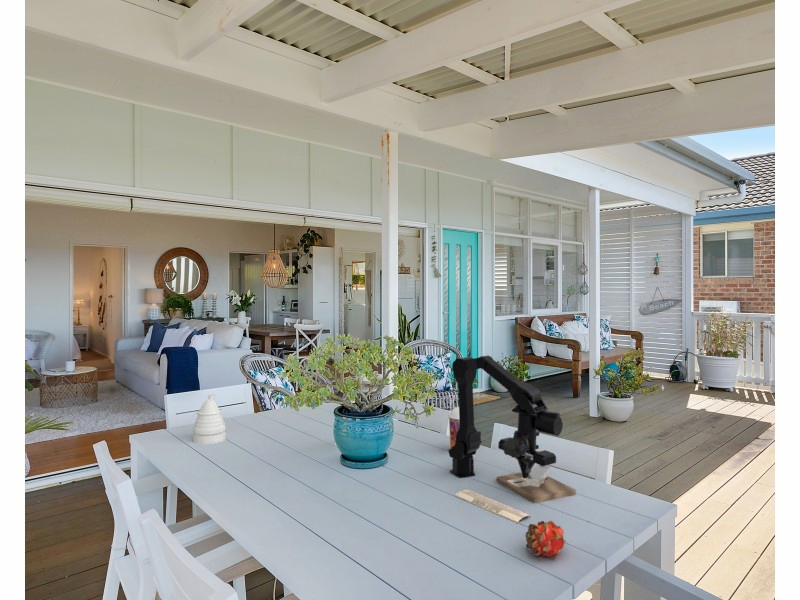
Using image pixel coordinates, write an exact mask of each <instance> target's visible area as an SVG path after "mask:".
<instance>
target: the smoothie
mask: <svg viewBox="0 0 800 600" xmlns="http://www.w3.org/2000/svg"><path fill="white" fill-rule="evenodd" d="M448 423H449V424H448V425H449V426H448V427H449V428H448V429H449V444H450V446H449V447H450V449H451V448H452V447H453V446H454V445H455V440H456V434H457V432H458V429H459V426H460V422H459V406H456V407H454V408H452V410H451V411H450V412H449V415H448Z"/></svg>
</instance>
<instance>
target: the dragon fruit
mask: <svg viewBox="0 0 800 600" xmlns="http://www.w3.org/2000/svg"><path fill="white" fill-rule="evenodd" d="M564 533H565V532H564V530H563V527H561V525H557V524H556V523H555V522H554V521H552V520H549V521H548V522H547V521H544V520H540V521H538V522H537V523H530V524H528V528H527V531H526V532H525V540H526V542H527V543H526V545H525V546H526V549H528V550H531V551H532V554H533V556H538V557H539V558H541V559H542V558H543V557H545V556H546V557H548V558H550V559H553V560H554V559H557V555H559V552H561V551H562V549H563V548H564V546H565V543H566V540H565V539H564Z"/></svg>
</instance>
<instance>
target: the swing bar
mask: <svg viewBox="0 0 800 600" xmlns="http://www.w3.org/2000/svg"><path fill="white" fill-rule="evenodd" d="M550 474H551V466H550V465H546V466H541V465H539V464H536V466H535V467H534V468H532V469H531V473H530V474H529V475H528V476H527V477H526V484H525V485H530V486H535V487H539V486H540V485H541V484H542V482H543V481H544V480H545V479H546V477H547V476H549V475H550Z"/></svg>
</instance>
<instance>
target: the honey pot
mask: <svg viewBox="0 0 800 600" xmlns="http://www.w3.org/2000/svg"><path fill="white" fill-rule="evenodd" d="M215 395H216V394H208V395H207V397H208V399H207V400H205V401H204V402H203V404H202V406H201V407H200V409H198V410H197V411H196V412H195V413H196V415H197V417H196V419H195V421H194V426H193V427H192V442H193V443H195V444H197V445H198V444H199V445H210V444H211V445H212V444H217V443H221V442H224V441H225V440H226V439H227V435H226V434H227V432H226V427H227V426H226V424H225V420H224V417H223V416H222V412H223V410H222V409H221V408H219V406H218V405H217V403H216V401H214V398H215Z"/></svg>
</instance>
